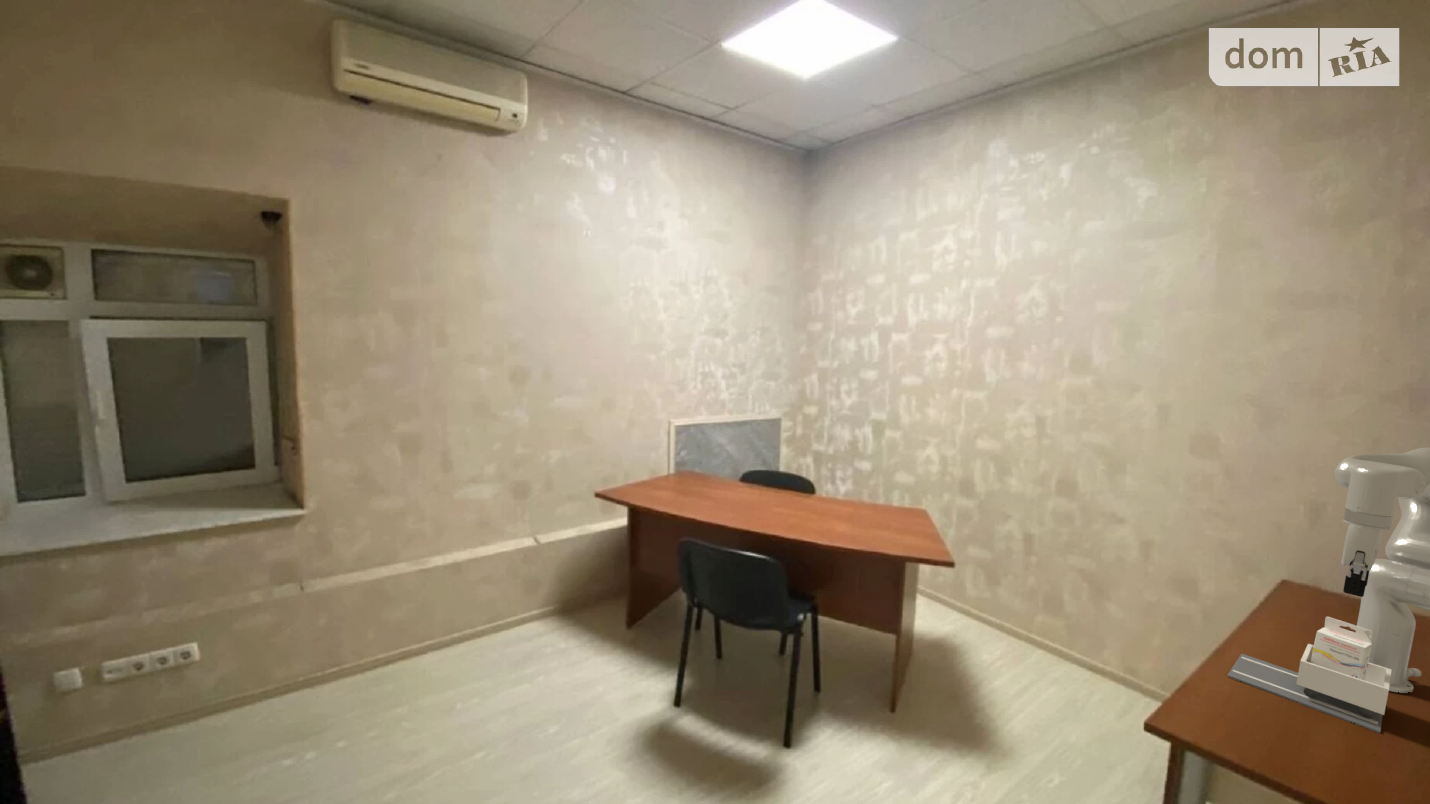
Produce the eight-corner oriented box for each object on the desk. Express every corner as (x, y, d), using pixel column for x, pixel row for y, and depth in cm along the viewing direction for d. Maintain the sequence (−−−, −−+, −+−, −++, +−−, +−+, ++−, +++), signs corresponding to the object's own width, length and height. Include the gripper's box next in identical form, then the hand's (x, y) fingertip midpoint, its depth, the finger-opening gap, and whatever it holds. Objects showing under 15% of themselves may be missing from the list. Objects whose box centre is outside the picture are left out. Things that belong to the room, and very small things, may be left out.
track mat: (1241, 655, 160) (1241, 652, 160) (1384, 704, 140) (1384, 701, 140) (1226, 676, 149) (1227, 673, 149) (1380, 733, 129) (1380, 730, 129)
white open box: (1302, 674, 150) (1308, 643, 149) (1385, 702, 139) (1391, 669, 138) (1294, 693, 141) (1300, 660, 140) (1382, 725, 130) (1388, 689, 129)
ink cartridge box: (1307, 675, 143) (1317, 618, 141) (1314, 670, 145) (1324, 614, 143) (1357, 695, 135) (1368, 635, 134) (1364, 689, 138) (1375, 630, 136)
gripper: (1347, 509, 144) (1335, 575, 146) (1340, 521, 133) (1328, 592, 135) (1393, 517, 138) (1380, 586, 140) (1390, 530, 127) (1376, 605, 129)
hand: (1355, 589), depth 138 cm, fingers open, 9 cm apart
